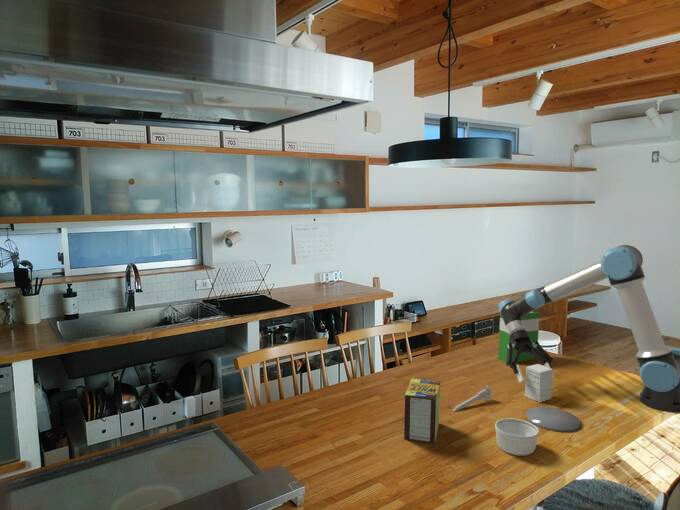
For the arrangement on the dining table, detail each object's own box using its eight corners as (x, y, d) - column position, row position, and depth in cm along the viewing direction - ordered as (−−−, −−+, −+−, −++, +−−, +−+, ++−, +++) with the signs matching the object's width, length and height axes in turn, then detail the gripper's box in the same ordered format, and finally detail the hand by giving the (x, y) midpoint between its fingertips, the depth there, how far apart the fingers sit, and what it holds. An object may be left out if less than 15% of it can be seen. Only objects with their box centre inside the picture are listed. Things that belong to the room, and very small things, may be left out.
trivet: (585, 418, 178) (585, 415, 178) (573, 437, 164) (573, 434, 163) (534, 405, 189) (534, 402, 188) (519, 421, 174) (519, 419, 174)
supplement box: (536, 393, 200) (538, 363, 199) (551, 399, 194) (553, 369, 193) (523, 396, 197) (525, 366, 196) (539, 403, 191) (540, 372, 189)
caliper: (488, 399, 194) (489, 384, 194) (490, 400, 193) (491, 385, 193) (452, 411, 183) (452, 395, 182) (454, 412, 182) (454, 396, 182)
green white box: (526, 355, 249) (528, 309, 246) (536, 359, 242) (539, 312, 240) (498, 358, 243) (500, 311, 240) (508, 363, 236) (510, 315, 233)
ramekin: (503, 433, 166) (504, 414, 165) (543, 446, 158) (544, 425, 157) (487, 448, 156) (488, 428, 155) (529, 463, 147) (530, 441, 147)
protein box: (439, 423, 173) (440, 381, 171) (435, 444, 158) (436, 398, 157) (410, 419, 176) (411, 377, 174) (403, 439, 161) (404, 394, 160)
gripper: (539, 336, 213) (559, 381, 200) (487, 338, 208) (504, 385, 195) (548, 327, 207) (569, 373, 195) (494, 330, 202) (512, 378, 190)
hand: (537, 380), depth 195 cm, fingers open, 13 cm apart
